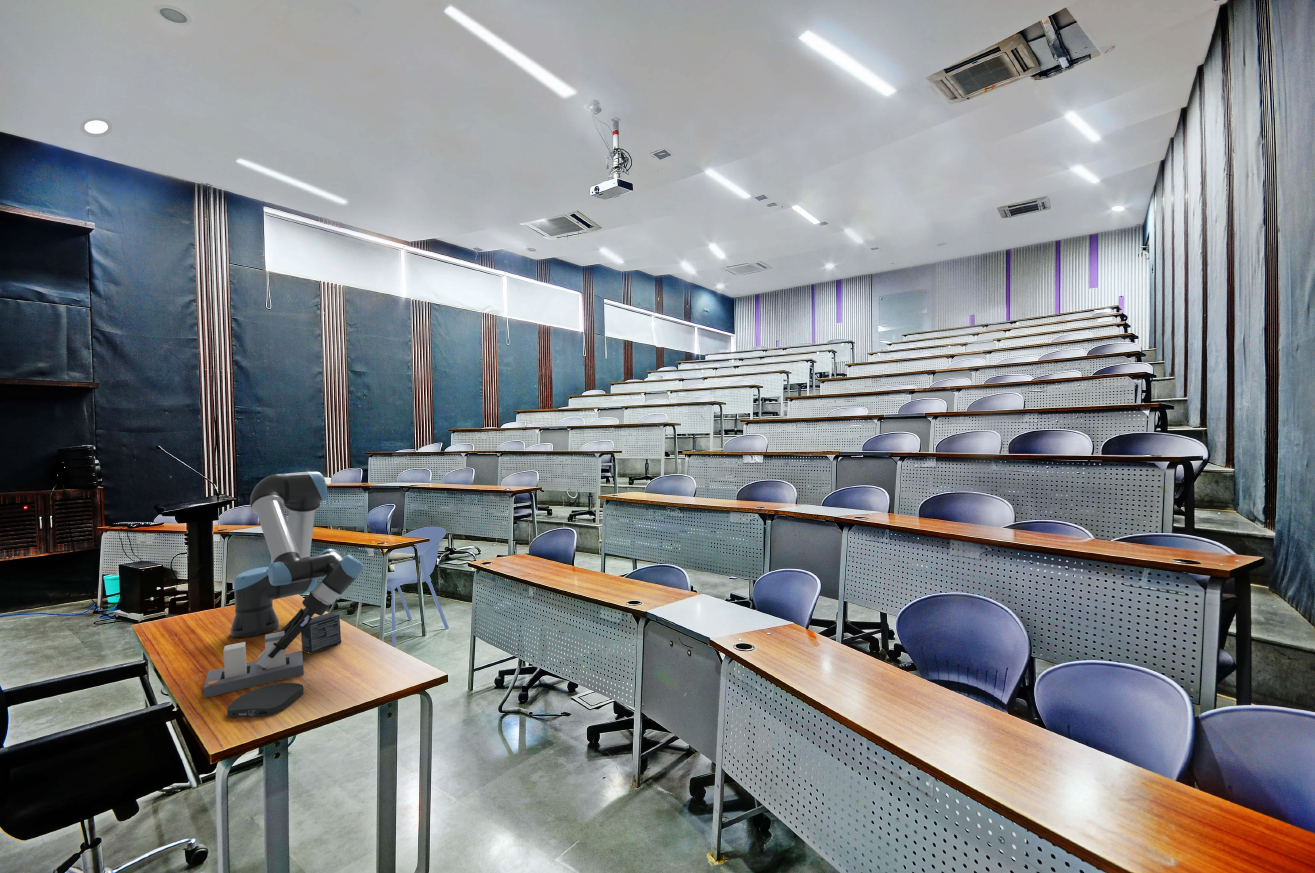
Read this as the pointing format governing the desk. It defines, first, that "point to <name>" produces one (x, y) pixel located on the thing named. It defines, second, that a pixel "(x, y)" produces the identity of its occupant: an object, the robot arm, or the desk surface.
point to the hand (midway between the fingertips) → (261, 662)
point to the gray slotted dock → (248, 671)
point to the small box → (321, 633)
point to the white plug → (269, 642)
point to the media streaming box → (265, 700)
